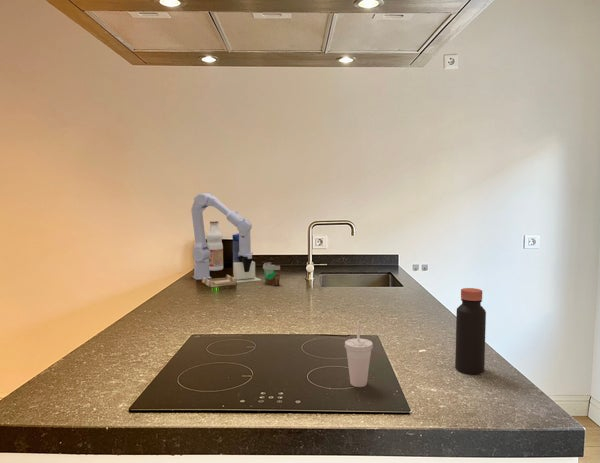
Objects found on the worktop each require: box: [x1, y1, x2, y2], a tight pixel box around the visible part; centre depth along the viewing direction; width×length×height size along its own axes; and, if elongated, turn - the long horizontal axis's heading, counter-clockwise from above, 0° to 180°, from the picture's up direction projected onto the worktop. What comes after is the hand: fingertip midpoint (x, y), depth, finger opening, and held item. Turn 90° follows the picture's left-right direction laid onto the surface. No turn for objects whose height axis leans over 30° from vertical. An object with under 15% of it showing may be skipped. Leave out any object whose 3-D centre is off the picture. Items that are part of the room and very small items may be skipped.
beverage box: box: [231, 232, 240, 277], centre depth 247 cm, size 7×11×22 cm, turn 173°
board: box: [237, 276, 263, 284], centre depth 232 cm, size 13×13×1 cm
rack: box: [201, 274, 238, 288], centre depth 222 cm, size 14×13×3 cm
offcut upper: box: [213, 280, 231, 284], centre depth 218 cm, size 4×8×1 cm, turn 119°
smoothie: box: [344, 322, 374, 388], centre depth 104 cm, size 6×6×14 cm
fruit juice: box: [205, 220, 224, 272], centre depth 263 cm, size 9×9×28 cm
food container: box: [262, 261, 281, 287], centre depth 219 cm, size 12×6×10 cm, turn 25°
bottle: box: [454, 287, 487, 375], centre depth 112 cm, size 7×7×20 cm
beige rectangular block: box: [233, 260, 256, 280], centre depth 231 cm, size 4×10×8 cm, turn 117°
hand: (245, 271), depth 232 cm, fingers closed on beige rectangular block, 4 cm apart
